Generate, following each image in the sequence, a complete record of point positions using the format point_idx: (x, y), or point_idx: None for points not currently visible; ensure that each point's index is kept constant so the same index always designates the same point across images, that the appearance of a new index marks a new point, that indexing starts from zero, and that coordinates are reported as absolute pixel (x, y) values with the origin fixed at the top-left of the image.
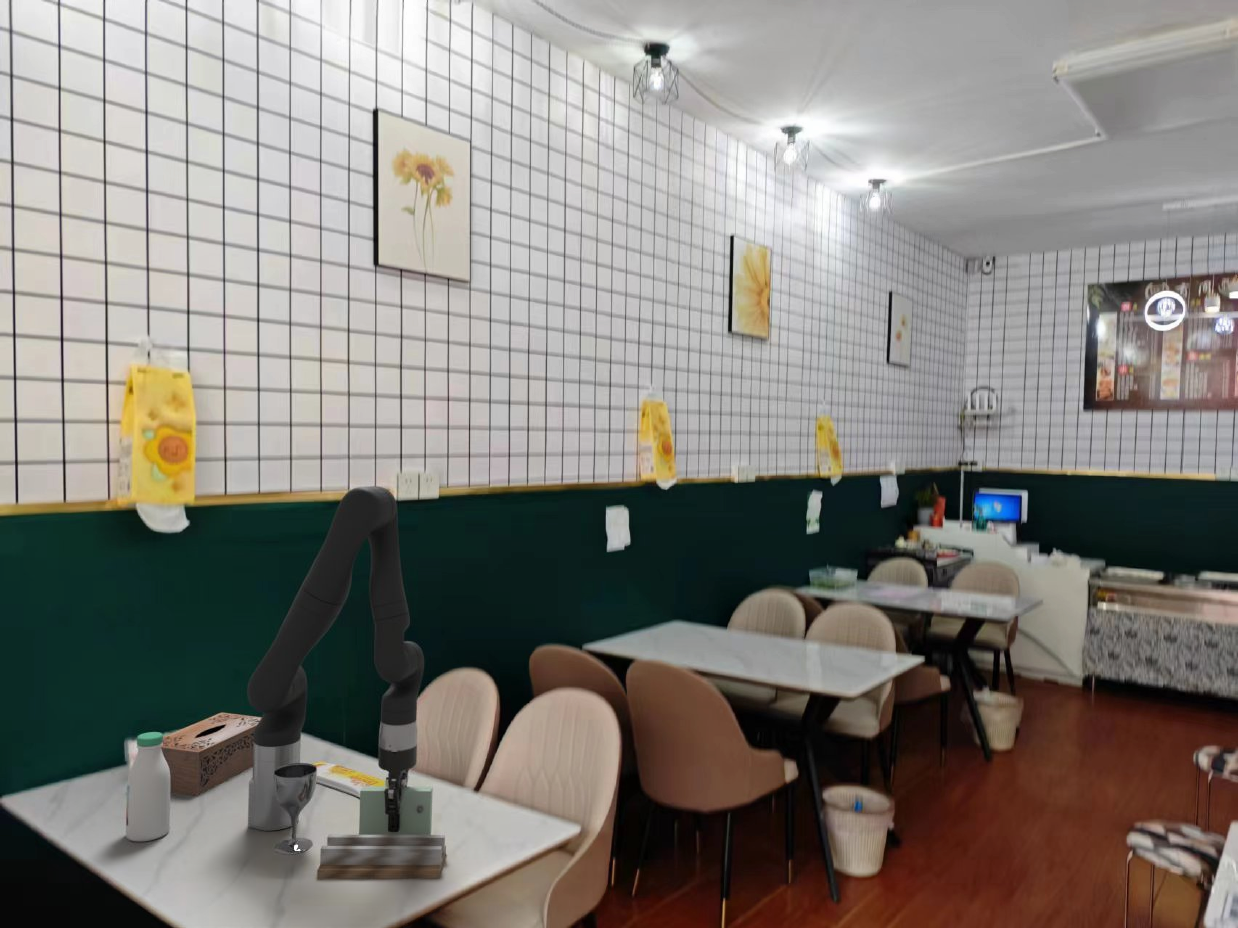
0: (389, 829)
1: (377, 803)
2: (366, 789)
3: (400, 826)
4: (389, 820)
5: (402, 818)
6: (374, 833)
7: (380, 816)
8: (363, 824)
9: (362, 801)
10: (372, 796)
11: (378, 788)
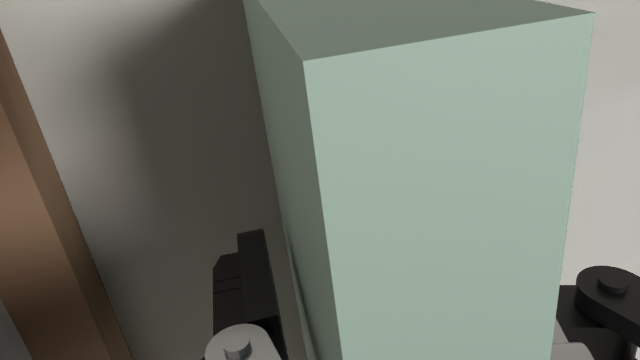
0: (217, 261)
1: (305, 251)
2: (399, 171)
3: (299, 296)
4: (241, 291)
5: (311, 348)
6: (263, 104)
7: (288, 205)
8: (252, 26)
9: (278, 62)
10: (314, 247)
11: (457, 348)
